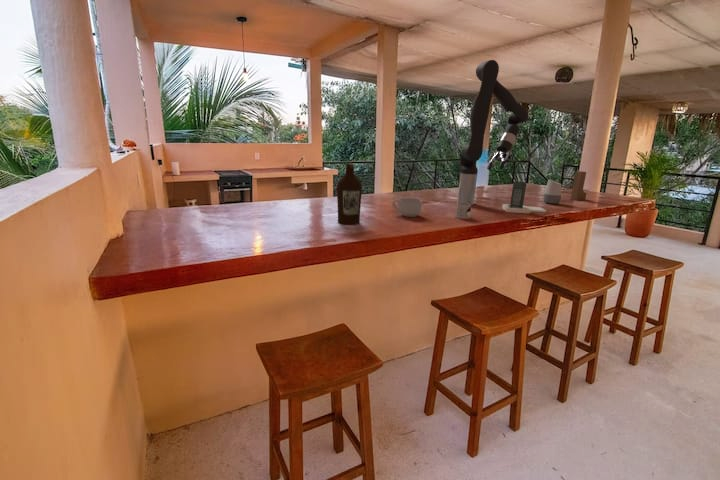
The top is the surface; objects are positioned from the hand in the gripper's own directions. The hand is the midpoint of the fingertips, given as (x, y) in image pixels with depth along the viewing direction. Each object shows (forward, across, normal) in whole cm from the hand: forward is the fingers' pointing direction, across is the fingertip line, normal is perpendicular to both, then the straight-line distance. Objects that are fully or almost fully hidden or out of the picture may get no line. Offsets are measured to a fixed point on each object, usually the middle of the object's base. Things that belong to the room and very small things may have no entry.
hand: (494, 169), depth 201 cm
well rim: (+16, +11, +16) cm, 25 cm away
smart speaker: (-4, +1, +49) cm, 49 cm away
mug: (+37, +14, -17) cm, 43 cm away
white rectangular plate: (+11, +14, +26) cm, 31 cm away
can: (+17, +11, +16) cm, 25 cm away
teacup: (+48, +3, -40) cm, 62 cm away
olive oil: (+65, +8, -67) cm, 94 cm away
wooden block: (-21, -4, +76) cm, 79 cm away
